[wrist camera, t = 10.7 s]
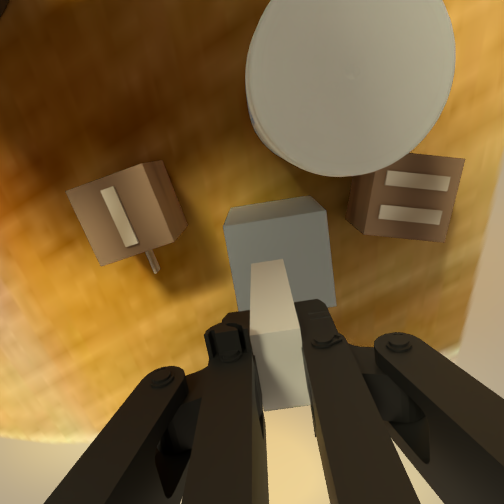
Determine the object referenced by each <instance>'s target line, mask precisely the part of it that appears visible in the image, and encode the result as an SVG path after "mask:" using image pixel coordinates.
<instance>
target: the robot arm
mask: <svg viewBox="0 0 504 504" xmlns="http://www.w3.org/2000/svg"><path fill="white" fill-rule="evenodd" d="M8 1H9V0H0V16H1V15H2V13H3V11H4V10H5V8H6V6H7V3H8ZM204 338H205V342H206V347H207V351H208V355H209V363H208V366H207V367H206V368H204V369H202V370H200V371H198V372H195V373H192V374H189V375H187V376H185V373H184V370H183V369H181V368H180V367H175V366H168V367H161V368H158V369H156V370H154V371H153V372H151V373H149V374H148V375H146V376H145V377H144V378H143V379H142V380H141V382H140V383H139V384H138V385H137V387H136V388H135V389H134V390H133V392H132V393H131V394H130V395H129V397H128V398H127V399H126V401H125V402H124V403H123V404H122V406H121V407H120V408H119V409H118V411H117V412H116V413H115V414H114V416H113V417H112V418H111V419H110V421H109V422H108V423H107V424H106V426H105V427H104V428H103V429H102V431H101V432H100V433H99V435H98V436H97V437H96V438H95V440H94V441H93V442H92V443H91V445H90V446H89V447H88V448H87V450H86V451H85V452H84V453H83V455H82V456H81V457H80V458H79V460H78V461H77V462H76V463H75V465H74V466H73V467H72V469H71V470H70V471H69V472H68V474H67V475H66V476H65V477H64V479H63V480H62V481H61V483H60V484H59V485H58V486H57V488H56V489H55V490H54V491H53V492H52V494H51V495H50V496H49V497H48V499H47V500H46V501H45V503H44V504H180V501H181V499H182V503H181V504H269V493H268V472H267V451H266V429H265V419H264V414H263V409H264V411H271V410H278V409H285V408H293V407H300V406H308V405H311V411H312V418H313V425H314V432H315V437H317V441H318V446H319V451H320V456H321V460H322V465H323V470H324V475H325V480H326V485H327V489H328V494H329V499H330V503H331V504H420V501H419V499H418V497H417V495H416V493H415V490H414V488H413V486H412V484H411V481H410V479H409V477H408V475H407V473H406V471H405V468H404V466H403V464H402V462H401V460H400V457H399V455H398V453H397V451H396V448H395V446H394V444H393V442H392V440H391V438H392V439H393V441H394V442H395V443H396V444H397V445H398V447H399V448H400V449H401V451H402V452H403V453H404V454H405V456H406V457H407V458H408V459H409V460H410V462H411V463H412V464H413V465H414V467H415V468H416V469H417V470H418V471H419V473H420V474H421V475H422V477H423V478H424V479H425V480H426V482H427V483H428V484H429V485H430V486H431V488H432V489H433V490H434V491H435V493H436V494H437V495H438V496H439V498H440V499H441V500H442V501H443V503H444V504H504V399H503V398H501V397H500V396H499V395H497V394H496V393H494V392H493V391H492V390H490V389H489V388H487V387H486V386H485V385H483V384H482V383H480V382H479V381H478V380H476V379H475V378H474V377H472V376H471V375H469V374H468V373H467V372H465V371H464V370H462V369H461V368H460V367H458V366H457V365H455V364H454V363H453V362H451V361H450V360H448V359H447V358H446V357H444V356H443V355H442V354H440V353H439V352H437V351H436V350H435V349H433V348H432V347H430V346H429V345H428V344H426V343H425V342H423V341H422V340H421V339H419V338H417V337H415V336H413V335H410V334H406V333H400V332H398V333H397V332H393V333H388V334H384V335H382V336H380V337H378V338H377V339H376V340H375V341H374V347H359V346H354V345H351V344H348V343H347V340H346V339H345V337H344V336H343V335H341V334H339V333H338V331H337V329H336V327H335V325H334V322H333V320H332V318H331V315H330V313H329V311H328V308H327V306H326V304H325V303H324V302H322V301H321V300H319V299H312V300H305V301H299V302H293V298H292V294H291V289H290V285H289V281H288V277H287V273H286V269H285V265H284V261H283V259H278V260H272V261H266V262H259V263H253V264H251V286H250V310H245V311H239V312H232V313H228V314H227V315H226V316H225V317H224V318H223V320H222V323H219V324H217V325H214V326H212V327H211V328H209V329H208V330H207V331H206V332H205V334H204ZM182 497H183V498H182Z"/></svg>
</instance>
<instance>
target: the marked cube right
mask: <svg viewBox="0 0 504 504" xmlns="http://www.w3.org/2000/svg"><path fill="white" fill-rule="evenodd" d="M464 162H465V159H461V158H451V157H442V156H432V155H423V154H413V153H408V154H406V155H405V156H404V157H402V158H401V159H399V160H398V161H396V162H394V163H393V164H391V165H389V166H387V167H385V168H382V169H380V170H377V171H374V172H371V173H367V174H363V175H356V176H353V177H352V183H351V189H350V195H349V200H348V206H347V212H346V218H345V219H346V220H347V221H348V222H349V223H350V224H352V225H353V226H354V227H355V228H356V229H358V230H359V231H360V232H361V233H362V234H364V235H374V236H384V237H394V238H403V239H413V240H423V241H433V242H443V243H445V239H446V235H447V231H448V227H449V223H450V219H451V214H452V210H453V206H454V202H455V198H456V194H457V190H458V186H459V182H460V178H461V174H462V170H463V166H464Z"/></svg>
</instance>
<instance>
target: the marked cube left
mask: <svg viewBox="0 0 504 504" xmlns="http://www.w3.org/2000/svg"><path fill="white" fill-rule="evenodd" d="M65 192H66V194H67V196H68V198H69V201H70V203H71V205H72V207H73V209H74V211H75V213H76V215H77V217H78V219H79V222H80V224H81V226H82V228H83V230H84V232H85V234H86V236H87V238H88V241H89V243H90V245H91V247H92V249H93V251H94V253H95V255H96V257H97V259H98V262H99V264H100V266H104V265H107V264H110V263H113V262H116V261H119V260H122V259H125V258H128V257H131V256H134V255H137V254H140V253H143V252H145V253H146V255H147V258H148V260H149V262H150V265H151V267H152V269H153V272H154V274H156V273H157V272H158V271H159V270H160V266H159V264H158V262H157V259H156V257H155V255H154V252H153V250H152V249H154V248H157V247H160V246H163V245H166V244H169V243H172V242H174V241H175V240H176V239H177V238H178V237H179V236H180V234H181V233H182V232H183V231H184V230H185V229H186V227H187V226H188V224H187V221H186V219H185V216H184V214H183V211H182V209H181V206H180V204H179V201H178V199H177V196H176V194H175V191H174V189H173V186H172V184H171V181H170V178H169V176H168V173H167V171H166V168H165V166H164V163H163V161H162V160H160V161H153V162H147V163H141V164H138V165H136V166H133V167H130V168H127V169H125V170H122V171H119V172H116V173H114V174H111V175H108V176H105V177H103V178H100V179H97V180H95V181H92V182H89V183H86V184H84V185H81V186H78V187H75V188H73V189H70V190H67V191H65Z"/></svg>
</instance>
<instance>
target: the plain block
mask: <svg viewBox="0 0 504 504" xmlns="http://www.w3.org/2000/svg"><path fill="white" fill-rule="evenodd" d="M223 230H224V235H225V240H226V246H227V251H228V256H229V262H230V267H231V273H232V278H233V283H234V289H235V294H236V299H237V305H238V310H239V311H245V310H250V286H251V264H253V263H259V262H266V261H272V260H278V259H283V261H284V265H285V269H286V273H287V277H288V281H289V285H290V289H291V294H292V298H293V302H299V301H305V300H312V299H319V300H321V301H322V302H324V303H325V304H326V306H327V307H334V306H337V305H336V296H335V286H334V277H333V268H332V259H331V250H330V240H329V231H328V222H327V213H326V210H325V209H324V208H323V207H322V206H321V205H320V204H319V203H318V202H317V201H316V200H315V199H314V198H313V197H311V196H310V195H308V196H301V197H295V198H289V199H282V200H276V201H270V202H264V203H257V204H251V205H245V206H238V207H232V208H230V211H229V213H228V216H227V218H226V220H225V223H224V225H223Z"/></svg>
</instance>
